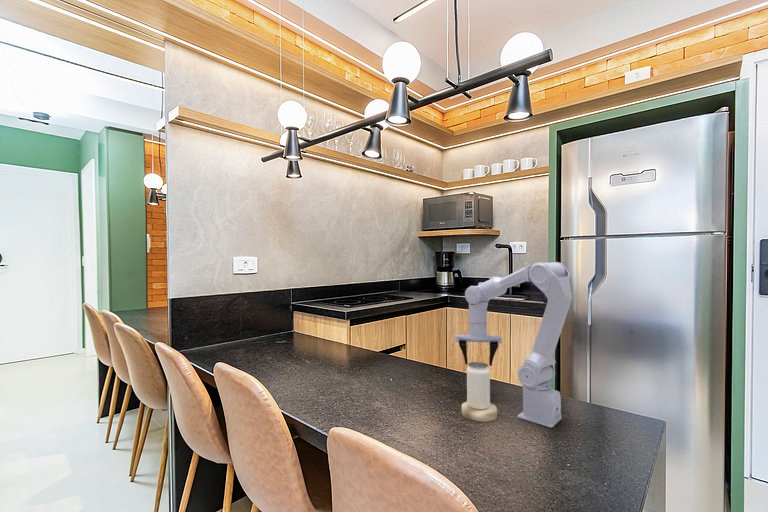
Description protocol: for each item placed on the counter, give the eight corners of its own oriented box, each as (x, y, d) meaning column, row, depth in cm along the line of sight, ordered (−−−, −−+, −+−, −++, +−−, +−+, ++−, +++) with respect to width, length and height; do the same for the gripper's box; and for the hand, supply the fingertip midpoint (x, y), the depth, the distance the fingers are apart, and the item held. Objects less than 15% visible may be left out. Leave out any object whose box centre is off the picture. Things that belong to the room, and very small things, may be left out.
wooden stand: (503, 413, 105) (503, 406, 105) (486, 425, 98) (486, 418, 98) (472, 404, 112) (472, 397, 112) (454, 414, 105) (454, 407, 105)
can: (464, 407, 105) (464, 366, 105) (470, 399, 111) (470, 360, 111) (487, 412, 102) (486, 369, 102) (492, 403, 108) (491, 363, 108)
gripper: (499, 321, 121) (500, 361, 121) (455, 319, 124) (455, 359, 124) (502, 325, 114) (502, 368, 114) (455, 323, 117) (455, 365, 117)
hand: (478, 364), depth 119 cm, fingers open, 7 cm apart
